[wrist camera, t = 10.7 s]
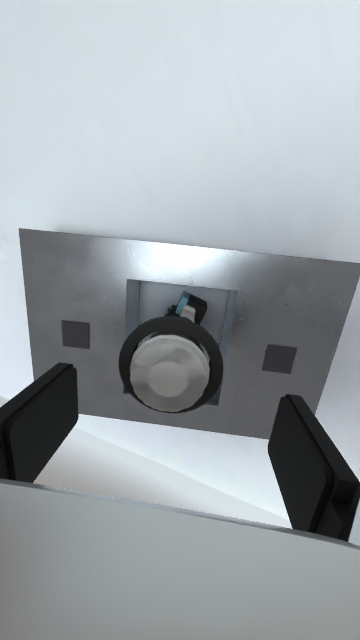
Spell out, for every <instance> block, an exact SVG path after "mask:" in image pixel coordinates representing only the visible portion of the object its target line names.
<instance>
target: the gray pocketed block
mask: <svg viewBox="0 0 360 640" xmlns="http://www.w3.org/2000/svg"><path fill="white" fill-rule="evenodd" d="M19 236H20V246H21V256H22V266H23V276H24V286H25V296H26V306H27V316H28V326H29V336H30V346H31V356H32V366H33V376H34V381H35V380H37V379H38V378H39V377H41V376H42V375H43V374H44V373H46V372H47V371H48V370H50V369H51V368H52V367H53V366H55V365H56V364H57V363H59V362H61V363H69V364H73V366H74V367H75V368H76V369H77V388H78V414H85V415H92V416H100V417H107V418H115V419H122V420H129V421H137V422H144V423H152V424H159V425H166V426H174V427H181V428H189V429H196V430H203V431H211V432H218V433H226V434H233V435H240V436H248V437H255V438H263V439H270V436H271V432H272V428H273V424H274V421H275V417H276V413H277V409H278V405H279V402H280V398H281V397H285V395H286V394H292V395H299V396H301V397H302V398H303V399H304V401H305V402H306V404H307V405H308V407H309V408H310V410H311V411H312V412H313V414H314V415H315V412H316V409H317V406H318V403H319V400H320V397H321V394H322V391H323V388H324V384H325V381H326V378H327V375H328V372H329V369H330V366H331V363H332V360H333V357H334V354H335V351H336V348H337V344H338V341H339V338H340V335H341V332H342V329H343V326H344V323H345V320H346V317H347V314H348V311H349V308H350V305H351V301H352V298H353V295H354V292H355V289H356V286H357V283H358V280H359V277H360V263H351V262H341V261H331V260H322V259H312V258H302V257H293V256H283V255H273V254H264V253H254V252H244V251H234V250H225V249H215V248H205V247H196V246H186V245H176V244H166V243H157V242H147V241H137V240H128V239H118V238H108V237H99V236H89V235H79V234H69V233H60V232H50V231H40V230H31V229H21V228H19ZM140 280H143V281H152V282H162V283H171V284H180V285H189V286H198V287H207V288H216V289H225V290H229V294H228V300H227V306H226V312H225V318H224V325H223V331H222V337H221V343H220V352H221V355H222V359H223V377H222V381H221V384H220V386H219V388H218V390H217V392H216V393H215V394H214V396H213V397H212V398H211V399H210V400H209V401H208V402H206V403H205V404H204V405H202V406H201V407H199V408H197V409H194V410H192V411H188V412H184V413H163V412H159V411H155V410H153V409H150V408H148V407H146V406H144V405H143V404H141V403H140V402H138V401H137V400H136V399H135V398H134V397H133V396H132V395H131V394H130V393H129V392H128V390H127V389H126V387H125V386H124V384H123V382H122V380H121V377H120V373H119V354H120V351H121V348H122V346H123V344H124V342H125V340H126V339H127V337H128V336H129V335H130V334H131V333H132V332H133V331H134V330H135V329H136V328H137V327H138V317H139V296H140Z"/></svg>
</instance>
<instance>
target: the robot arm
mask: <svg viewBox="0 0 360 640" xmlns="http://www.w3.org/2000/svg"><path fill="white" fill-rule="evenodd" d="M77 420H78V388H77V369H76V368H75V367H74V366H73V364H69V363H61V362H59V363H57V364H56V365H55V366H53V367H52V368H51V369H50V370H48V371H47V372H46V373H44V374H43V375H42V376H41V377H39V378H38V379H37V380H35V381H34V382H33V383H32V384H30V385H29V386H28V387H26V388H25V389H24V390H22V391H21V392H20V393H19V394H17V395H16V396H15V397H13V398H12V399H11V400H10V401H8V402H7V403H6V404H5V405H3V406H2V407H1V408H0V640H360V482H359V480H358V479H357V477H356V476H355V474H354V473H353V471H352V470H351V468H350V467H349V466H348V464H347V463H346V461H345V460H344V458H343V457H342V455H341V454H340V452H339V451H338V449H337V448H336V446H335V445H334V443H333V442H332V440H331V439H330V438H329V436H328V435H327V433H326V432H325V430H324V429H323V427H322V426H321V424H320V423H319V421H318V420H317V418H316V417H315V415H314V414H313V412H312V411H311V410H310V408H309V407H308V405H307V404H306V402H305V401H304V399H303V398H302V397H301V396H299V395H292V394H286V395H285V397H281V398H280V402H279V405H278V409H277V413H276V417H275V421H274V424H273V428H272V432H271V436H270V439H269V443H268V454H269V457H270V460H271V463H272V466H273V469H274V473H275V476H276V479H277V482H278V485H279V488H280V491H281V494H282V497H283V500H284V504H285V507H286V510H287V513H288V516H289V519H290V522H291V525H292V528H293V529H290V528H284V527H280V526H275V525H269V524H265V523H259V522H254V521H248V520H243V519H237V518H232V517H225V516H220V515H214V514H209V513H203V512H197V511H193V510H187V509H181V508H175V507H170V506H164V505H158V504H153V503H147V502H141V501H135V500H129V499H123V498H118V497H112V496H106V495H100V494H94V493H88V492H82V491H76V490H70V489H64V488H58V487H52V486H46V485H40V484H34V483H33V482H34V480H35V479H36V478H37V476H38V475H39V474H40V472H41V471H42V469H43V468H44V467H45V465H46V464H47V463H48V461H49V460H50V458H51V457H52V456H53V454H54V453H55V452H56V450H57V449H58V448H59V446H60V445H61V443H62V442H63V441H64V439H65V438H66V437H67V435H68V434H69V433H70V431H71V430H72V429H73V427H74V426H75V424H76V423H77Z"/></svg>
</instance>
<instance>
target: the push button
mask: <svg viewBox="0 0 360 640" xmlns="http://www.w3.org/2000/svg"><path fill="white" fill-rule="evenodd" d="M168 309H169V308H168ZM168 309H167V311H168ZM206 310H207V304H206V302H205V301H203V300H201V299H199V298H197V297H195V296H193V295H191V294H188V293H186V292H183V294H182V296H181V299H180V301H179V304H178V306H177V307H176V306H174V305H172V307H171V309H170V311H169V312H167V311H166V313H165V315H164V317H160V318H155V319H152V320H149V321H147V322H145V323H143V324H141V325H140V326H138V327H137V328H136V329H135V330H134V331H133V332H132V333H131V334H130V335H129V336H128V337H127V339H126V340H125V342H124V344H123V346H122V348H121V351H120V354H119V373H120V377H121V380H122V382H123V384H124V386H125V387H126V389H127V390H128V392H129V393H130V394H131V395H132V396H133V397H134V398H135V399H136V400H137V401H138V402H140V403H141V404H143V405H144V406H146V407H148V408H150V409H153V410H155V411H159V412H163V413H184V412H188V411H192V410H194V409H197V408H199V407H201V406H202V405H204V404H205V403H206V402H208V401H209V400H210V399H211V398H212V397H213V396H214V394H215V393H216V392H217V390H218V388H219V386H220V384H221V381H222V377H223V359H222V355H221V352H220V349H219V347H218V345H217V343H216V341H215V340H214V338H213V337H212V336H211V335H210V334H209V333H208V332H207V331H206V330H205V329H204V328H202V327H201V326H200V322H201V320H202V318H203V316H204V314H205V313H206ZM150 334H151V335H150ZM148 335H150V336H149V338H148V339H147V340H146V341H145V342H144V343H142V344H141V345H140V347H139V348H138V344H139V342H140V341H141V340H142V339H143V338H145V337H146V336H148ZM203 347H204V348H205V349H206V351H207V353H208V355H209V357H210V362H209V365H208V362H207V359H206V357H205V352H204V348H203ZM137 348H138V349H137Z"/></svg>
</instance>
